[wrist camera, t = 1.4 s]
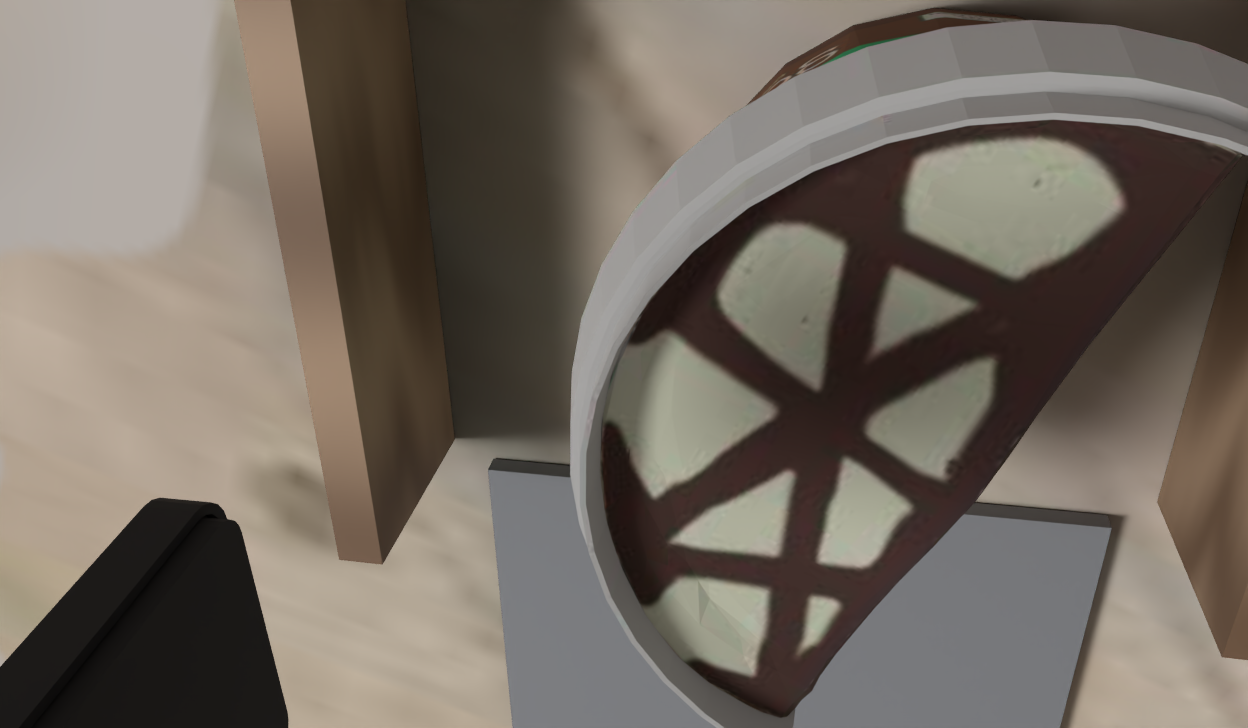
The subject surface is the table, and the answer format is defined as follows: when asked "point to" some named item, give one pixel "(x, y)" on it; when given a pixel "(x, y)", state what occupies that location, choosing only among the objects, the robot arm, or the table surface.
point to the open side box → (411, 320)
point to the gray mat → (865, 665)
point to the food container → (865, 322)
